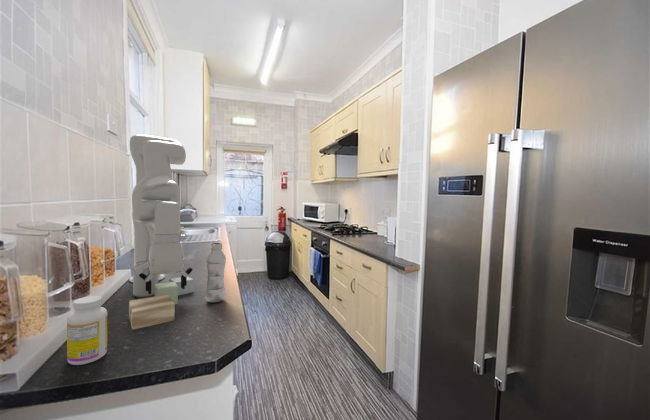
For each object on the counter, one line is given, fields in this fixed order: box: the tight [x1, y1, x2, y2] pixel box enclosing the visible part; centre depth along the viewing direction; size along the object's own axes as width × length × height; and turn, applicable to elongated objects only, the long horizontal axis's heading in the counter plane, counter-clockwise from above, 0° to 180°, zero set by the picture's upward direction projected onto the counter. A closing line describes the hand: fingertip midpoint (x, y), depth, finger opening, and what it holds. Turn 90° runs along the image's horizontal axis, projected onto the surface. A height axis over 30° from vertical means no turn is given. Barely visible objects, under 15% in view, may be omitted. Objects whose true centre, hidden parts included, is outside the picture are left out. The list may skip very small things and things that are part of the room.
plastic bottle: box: [204, 242, 227, 304], centre depth 95 cm, size 6×7×20 cm
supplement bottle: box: [66, 295, 108, 366], centre depth 60 cm, size 7×7×13 cm
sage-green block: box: [154, 282, 179, 305], centre depth 93 cm, size 6×6×6 cm
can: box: [132, 260, 159, 298], centre depth 99 cm, size 8×8×12 cm
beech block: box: [128, 294, 176, 330], centre depth 80 cm, size 10×10×5 cm
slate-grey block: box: [168, 276, 194, 296], centre depth 103 cm, size 6×6×5 cm
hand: (166, 290), depth 92 cm, fingers open, 9 cm apart
